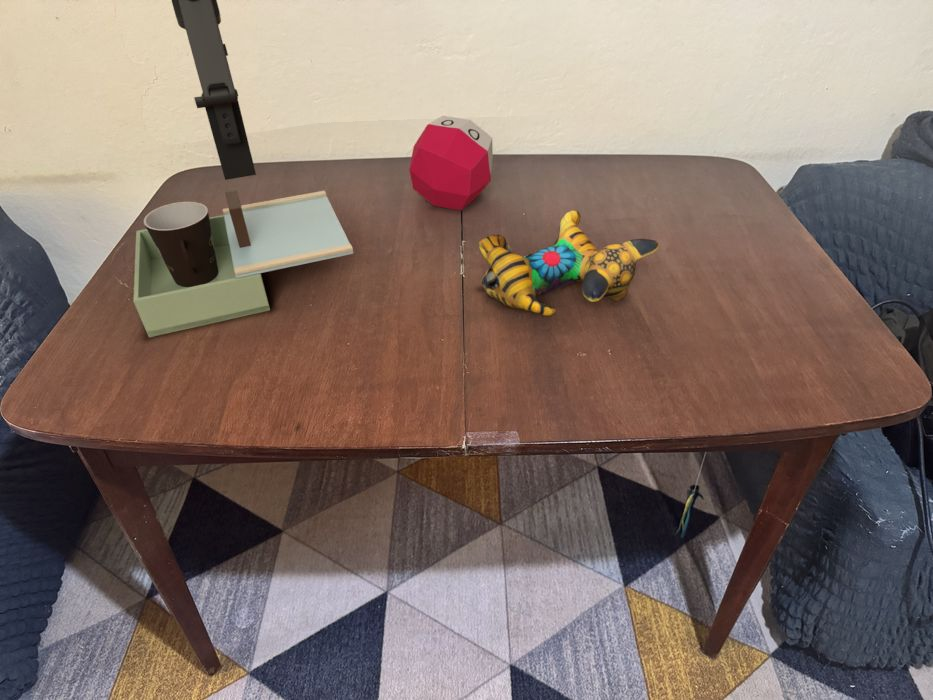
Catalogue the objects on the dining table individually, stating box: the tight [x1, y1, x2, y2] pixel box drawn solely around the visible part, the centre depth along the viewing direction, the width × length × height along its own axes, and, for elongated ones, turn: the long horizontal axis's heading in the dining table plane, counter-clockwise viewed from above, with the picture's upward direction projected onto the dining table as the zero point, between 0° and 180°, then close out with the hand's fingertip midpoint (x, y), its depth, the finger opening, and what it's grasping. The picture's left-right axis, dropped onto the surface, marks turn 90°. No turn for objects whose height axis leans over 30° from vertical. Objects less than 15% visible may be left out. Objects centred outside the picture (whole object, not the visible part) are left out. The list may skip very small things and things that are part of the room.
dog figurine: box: [478, 210, 660, 317], centre depth 89 cm, size 20×12×18 cm
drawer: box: [222, 190, 354, 278], centre depth 94 cm, size 16×20×7 cm
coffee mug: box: [143, 201, 218, 287], centre depth 92 cm, size 12×9×10 cm
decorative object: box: [408, 115, 494, 211], centre depth 112 cm, size 15×15×15 cm
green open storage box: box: [133, 214, 271, 338], centre depth 94 cm, size 16×20×6 cm
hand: (232, 149), depth 63 cm, fingers open, 13 cm apart
